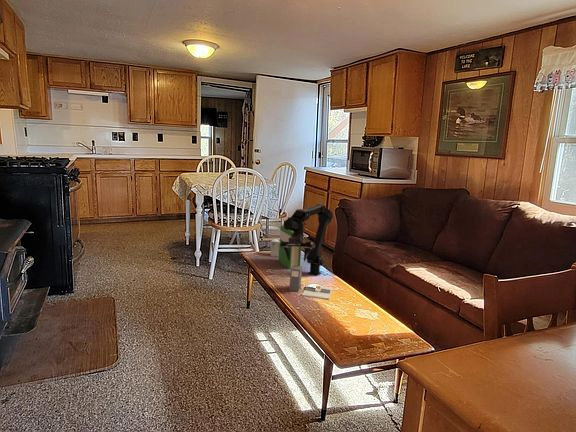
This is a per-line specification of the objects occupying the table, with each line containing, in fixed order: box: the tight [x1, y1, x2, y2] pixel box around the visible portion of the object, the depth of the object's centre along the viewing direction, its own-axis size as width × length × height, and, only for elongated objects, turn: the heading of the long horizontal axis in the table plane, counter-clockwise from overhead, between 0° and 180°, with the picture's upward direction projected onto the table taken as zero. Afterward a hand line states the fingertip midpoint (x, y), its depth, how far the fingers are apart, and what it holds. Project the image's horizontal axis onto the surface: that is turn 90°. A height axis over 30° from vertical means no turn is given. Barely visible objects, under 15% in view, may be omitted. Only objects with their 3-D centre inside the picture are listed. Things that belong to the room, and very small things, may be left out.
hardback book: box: [278, 224, 302, 270], centre depth 248 cm, size 18×7×24 cm, turn 23°
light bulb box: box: [270, 238, 280, 258], centre depth 269 cm, size 11×7×11 cm, turn 84°
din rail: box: [305, 286, 331, 293], centre depth 206 cm, size 2×13×1 cm, turn 77°
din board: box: [301, 284, 334, 300], centre depth 207 cm, size 16×14×1 cm
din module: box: [289, 265, 303, 292], centre depth 208 cm, size 6×5×12 cm
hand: (296, 260), depth 212 cm, fingers open, 9 cm apart
